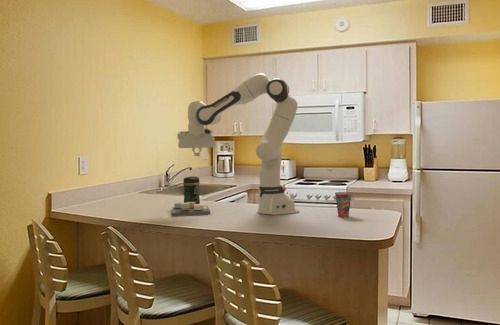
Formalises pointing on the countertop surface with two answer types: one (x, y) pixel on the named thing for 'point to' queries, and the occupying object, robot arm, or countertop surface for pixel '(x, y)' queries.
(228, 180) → the countertop surface
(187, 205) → the key
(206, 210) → the keypad board
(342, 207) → the cup
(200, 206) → the key
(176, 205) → the key
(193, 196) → the coffee jar
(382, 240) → the countertop surface
